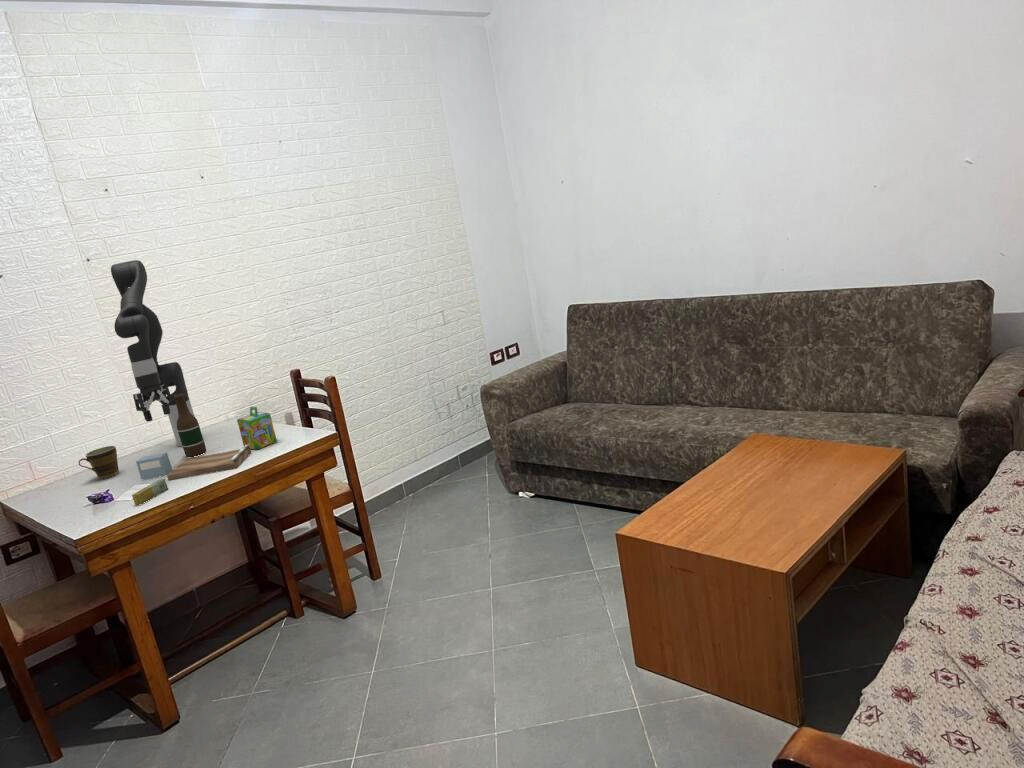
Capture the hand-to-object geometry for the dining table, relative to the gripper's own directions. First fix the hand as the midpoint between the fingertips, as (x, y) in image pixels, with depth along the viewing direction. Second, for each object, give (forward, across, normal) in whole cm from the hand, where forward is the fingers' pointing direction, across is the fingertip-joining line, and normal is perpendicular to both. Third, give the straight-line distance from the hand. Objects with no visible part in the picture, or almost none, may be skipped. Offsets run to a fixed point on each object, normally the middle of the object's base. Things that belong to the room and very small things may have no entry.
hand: (158, 417), depth 257 cm
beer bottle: (+19, -17, -4) cm, 26 cm away
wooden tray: (+20, -3, +14) cm, 25 cm away
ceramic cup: (+20, +1, -31) cm, 37 cm away
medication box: (+22, +22, +10) cm, 33 cm away
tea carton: (+20, +2, -6) cm, 21 cm away
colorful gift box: (+20, -22, +22) cm, 37 cm away
